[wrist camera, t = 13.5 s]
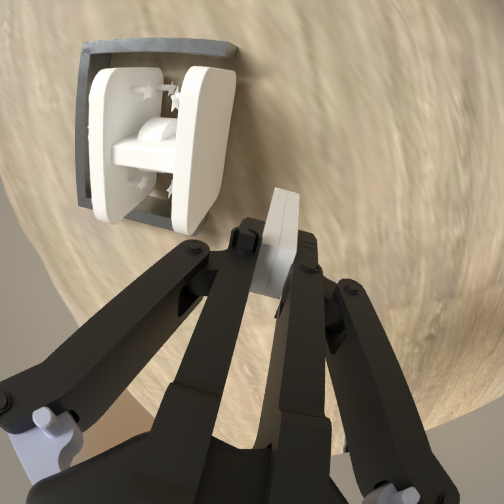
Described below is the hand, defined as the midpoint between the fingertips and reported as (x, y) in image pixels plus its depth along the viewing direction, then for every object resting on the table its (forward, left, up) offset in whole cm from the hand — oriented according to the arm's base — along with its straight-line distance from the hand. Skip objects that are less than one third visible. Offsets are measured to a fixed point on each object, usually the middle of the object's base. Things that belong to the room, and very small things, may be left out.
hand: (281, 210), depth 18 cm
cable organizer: (+12, 0, -15) cm, 19 cm away
